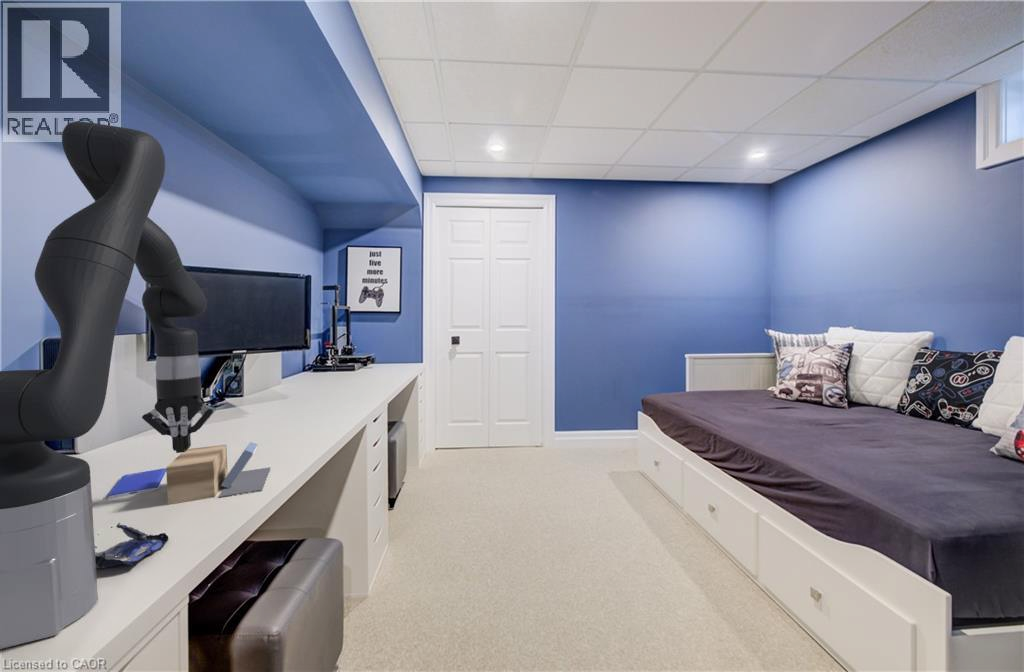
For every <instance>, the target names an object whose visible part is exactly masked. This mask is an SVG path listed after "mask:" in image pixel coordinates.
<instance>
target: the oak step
mask: <svg viewBox="0 0 1024 672" xmlns="http://www.w3.org/2000/svg"><path fill="white" fill-rule="evenodd" d="M227 446H228V445H227V444H220V445H211V446H202V447H195V448H188V449H187V451H186V452H182V453H179V455H178V456H177V457H175V459H174V460H173V461H172V462H171V463H169V464H168V466H166V467H165V468H166V488H167V489H166V490H167V491H166V492H167V505H174V504H179V503H185V502H192V501H198V500H204V499H211V498H215V497H216V496H217V494H218V492H219V491H220V489H221V487H222V486H221V484H222V483H223V481H224V480H225V478H226V477H227V475H228V474H229V472H228V450H227V449H228V448H227Z"/></svg>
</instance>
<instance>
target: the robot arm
mask: <svg viewBox="0 0 1024 672" xmlns="http://www.w3.org/2000/svg"><path fill="white" fill-rule="evenodd" d="M61 145H62V149H63V152H64V154H65V157H66V159H67V161H68V163H69V166H70V167H71V169H72V170H73V172H74V173H75V175H76V176H77V177H78V179H79V180H80V183H82V185H83V187H85V189H86V190H87V192H88V193H89V195H91V197H92V199H93V200H94V202H92V203H90V204H89V205H87V206H85V207H84V208H81V209H80V210H78V211H77V212H75V213H73V214H72V215H71V216H69V217H67V218H65V219H64V220H63V221H61V222H60V223H59V224H58V225H57V226H55V227H54V228H53V229H52V230H51V231H50V233H49V234H48V235H47V238H46V240H45V241H44V245H43V247H42V250H41V253H40V255H39V258H38V261H37V263H36V267H35V270H34V280H35V284H36V286H37V289H38V291H39V293H40V295H41V297H42V299H43V300H44V302H45V303H46V305H47V307H48V309H50V311H51V313H52V315H53V316H54V319H55V320H56V322H57V324H58V327H59V331H60V343H59V349H58V353H57V356H56V360H55V362H54V365H53V367H52V368H51V369H24V370H23V369H20V370H17V369H15V370H1V371H0V650H2V649H6V648H10V647H14V646H18V645H21V644H26V643H30V642H34V641H37V640H38V641H39V640H41V639H46V638H50V637H53V636H54V637H55V636H57V635H58V634H59V633H60V632H61V631H62V630H63V629H64V628H66V627H68V626H69V625H71V624H73V623H74V622H76V621H77V620H79V619H80V618H81V617H84V616H85V615H86V614H87V613H89V612H90V611H91V609H93V607H95V605H96V604H97V602H98V599H99V597H98V578H97V577H98V575H97V568H96V560H95V555H96V548H95V546H96V545H95V530H94V515H93V513H94V512H93V499H92V498H93V495H92V481H91V480H92V479H91V468H90V464H89V463H88V461H86V460H85V459H83V458H80V457H76V456H71V455H67V454H64V453H61V452H58V451H56V450H54V449H52V448H50V446H48V445H46V444H45V442H53V441H64V440H71V439H77V438H80V437H82V436H84V435H85V434H87V433H88V432H90V431H91V429H93V427H94V426H95V425H96V423H97V422H98V420H99V419H100V416H101V414H102V412H103V409H104V405H105V400H106V397H107V392H108V391H107V390H108V383H109V376H110V369H111V361H112V354H113V349H114V348H113V347H114V342H115V336H116V331H117V326H118V324H119V319H120V316H121V311H122V307H123V305H124V300H125V297H126V293H127V291H128V288H129V285H130V282H131V278H132V274H133V271H134V266H136V268H137V271H138V273H139V275H140V276H141V279H143V281H145V283H147V284H149V285H151V286H149V287H147V288H146V289H145V290H144V292H143V294H142V297H141V302H142V306H143V310H144V312H145V314H146V316H147V318H148V321H149V323H150V326H151V328H152V333H153V335H154V337H155V353H156V360H155V366H154V367H155V382H156V383H155V388H156V400H157V401H156V403H155V405H154V408H153V409H152V410H150V411H149V412H147V413H145V414H143V415H142V416H141V418H142V420H143V421H145V422H146V423H147V424H149V426H151V427H152V428H153V429H154V430H156V431H157V432H158V433H159V434H160V435H161V436H170V437H171V440H172V444H171V445H172V450H173V451H174V452H175V453H176V454H178V453H179V454H181V453H182V452H186V451H187V449H191V448H190V447H191V445H192V444H191V443H192V442H191V440H192V439H191V437H192V436H191V435H192V434H193V433H196V432H197V431H199V430H200V429H201V428H202V427H203V426H204V424H206V422H207V421H208V420H209V419H210V418H211V416H213V414H214V413H215V412H216V407H214V406H209V405H207V404H205V400H204V399H203V397H202V380H201V379H202V378H201V373H202V369H201V362H200V358H199V342H198V341H199V340H198V338H199V337H198V333H197V331H195V330H194V329H191V328H187V327H186V328H185V327H180V326H177V325H175V324H174V323H173V322H172V321H171V318H196V317H200V316H201V315H203V314H204V313H205V311H206V309H207V305H208V304H207V303H208V302H207V298H206V295H205V292H204V291H203V290H202V288H201V287H200V286H199V284H197V282H196V281H195V280H194V279H193V278H192V276H191V275H190V273H188V272H187V270H186V269H185V267H184V264H183V262H182V259H181V257H180V254H179V252H178V249H177V247H176V245H175V243H174V241H173V240H172V239H171V237H170V236H169V235H168V234H167V232H166V231H164V230H163V229H162V227H160V226H159V225H158V224H157V223H156V222H154V221H153V220H152V219H151V218H150V217H149V214H150V212H151V208H152V206H154V205H153V204H154V202H155V200H156V198H157V196H158V193H159V190H160V188H161V186H162V184H163V179H164V177H165V171H166V158H165V153H164V149H163V147H162V144H161V143H160V142H159V141H158V139H156V138H155V137H154V136H153V135H152V134H149V133H148V132H145V131H141V130H138V129H133V128H129V127H121V126H115V125H108V124H102V123H97V122H96V123H95V122H89V121H75V120H74V121H72V122H69V123H67V125H65V126H64V128H63V130H62V134H61ZM199 412H200V415H201V416H200V418H199V419H198V420H197V421H196V422H195V423H194V424H193V425H192V423H193V419H194V418H195V416H196V415H197V414H198V413H199ZM161 416H162V417H163V418H164V419H165V420H166V421H167V422H165V420H163V419H161V418H160V417H161ZM167 423H168V424H167Z"/></svg>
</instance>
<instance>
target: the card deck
mask: <svg viewBox="0 0 1024 672" xmlns="http://www.w3.org/2000/svg"><path fill="white" fill-rule="evenodd" d="M257 448H258V443H255V442H253V441H250V442H249V443H248V444H247V446H246V448H245V449H244V451H243V452H242V453H241V455H240V456H239V457H238V458H237V460H236V462H235V463H234V465H233V466H232V468H231V469H230V471H229V472H228V475H227V477H226V478H225V480H224V481H223V483H222V484H221V487H223V488H225V487H226V488H230V486H232V485H233V483H234V482H235V480H236V479H237V477H238V476H239V475H240V473H241V472H242V471H244V469H245V468H246V466H247V465H248V463H249V461H251V458H252V457H253V455H254V454H255V452H256V450H257Z"/></svg>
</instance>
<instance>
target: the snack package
mask: <svg viewBox="0 0 1024 672" xmlns="http://www.w3.org/2000/svg"><path fill="white" fill-rule="evenodd" d="M112 528H113V526H110V529H112ZM116 528H117V529H121V530H122V532H123V533H124V534H125V535H126V536H127V537H128V538H130V539H129V540H128V541H127V540H126V541H123V542H119V543H116V544H115V545H113V546H111V547H109V548H108V549H106V550H103V552H100V553H97V552H96V551H95V560H96V569H103V568H104V569H105V568H110V567H115V566H119V565H125V566H130V567H137V565H138V564H139V563H140V562H141V561H142V560H143V559H144V558H145V557H146V556H147V555H148V556H153V555H154V554H155V553H157V552H158V551H161V550H162V549H163V548H164V546H165V545H166V544H167V543H168V541H169V535H167V534H166V533H165V532H162V533H159V534H155V535H154V534H149V535H148V534H146V533H145V532H142V531H140V530H138V529H137V528H136V529H135V528H134V527H130V526H127V525H125V524H121V523H120V522H118V523H117V525H116ZM99 535H100V534H98V533H97V536H99ZM97 548H98V546H97V545H95V549H97ZM122 555H123V556H126V557H125V558H126V559H124V560H122V559H113V558H115V556H117V557H116V558H120V557H123V556H122ZM111 556H113V557H112V558H110V559H109V557H111ZM119 556H120V557H119ZM106 557H108V558H106Z"/></svg>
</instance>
